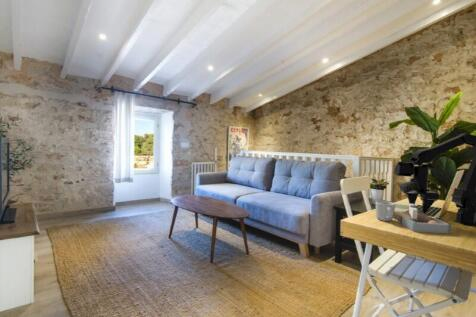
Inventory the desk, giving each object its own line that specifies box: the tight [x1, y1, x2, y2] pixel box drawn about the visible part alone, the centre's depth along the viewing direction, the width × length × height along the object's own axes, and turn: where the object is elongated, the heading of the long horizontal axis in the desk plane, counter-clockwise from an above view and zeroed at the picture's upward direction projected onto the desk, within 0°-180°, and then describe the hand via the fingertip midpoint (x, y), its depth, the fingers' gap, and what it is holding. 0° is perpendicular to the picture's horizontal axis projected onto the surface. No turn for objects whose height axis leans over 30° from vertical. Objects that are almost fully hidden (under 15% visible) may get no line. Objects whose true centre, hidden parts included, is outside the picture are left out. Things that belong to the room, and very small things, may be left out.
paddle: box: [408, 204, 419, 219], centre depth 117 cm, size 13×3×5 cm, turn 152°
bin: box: [401, 217, 452, 234], centre depth 108 cm, size 14×8×4 cm, turn 87°
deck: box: [393, 210, 433, 224], centre depth 118 cm, size 14×13×3 cm
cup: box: [375, 200, 396, 222], centre depth 117 cm, size 11×8×8 cm
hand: (417, 210), depth 121 cm, fingers open, 9 cm apart
